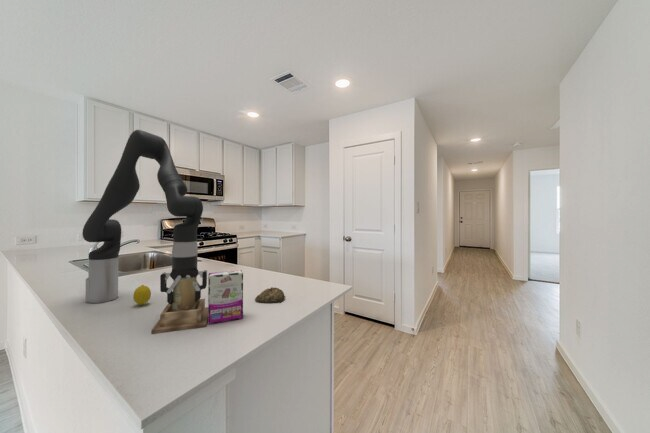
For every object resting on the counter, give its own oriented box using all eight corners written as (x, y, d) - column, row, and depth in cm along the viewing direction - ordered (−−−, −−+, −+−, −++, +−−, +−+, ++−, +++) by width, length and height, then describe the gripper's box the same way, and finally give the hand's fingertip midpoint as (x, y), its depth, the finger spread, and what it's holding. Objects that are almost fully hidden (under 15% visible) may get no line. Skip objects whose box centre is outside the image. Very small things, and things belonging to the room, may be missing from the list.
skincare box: (171, 312, 83) (172, 276, 83) (183, 308, 87) (183, 274, 87) (185, 316, 80) (185, 279, 80) (196, 311, 84) (197, 276, 84)
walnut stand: (151, 333, 74) (151, 317, 74) (164, 314, 88) (164, 300, 88) (206, 326, 79) (206, 311, 79) (210, 309, 93) (210, 296, 93)
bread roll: (282, 304, 100) (282, 292, 100) (252, 303, 101) (252, 291, 101) (287, 294, 113) (287, 283, 113) (261, 293, 114) (261, 283, 114)
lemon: (141, 308, 93) (141, 287, 93) (129, 307, 94) (129, 286, 94) (154, 303, 98) (154, 283, 98) (142, 302, 99) (143, 282, 99)
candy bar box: (241, 313, 90) (241, 269, 90) (243, 319, 86) (244, 272, 85) (207, 319, 85) (208, 272, 85) (207, 325, 80) (208, 275, 80)
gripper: (209, 252, 89) (208, 296, 89) (163, 253, 84) (162, 300, 85) (207, 255, 82) (206, 304, 82) (157, 257, 77) (156, 308, 77)
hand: (184, 302), depth 83 cm, fingers closed on skincare box, 7 cm apart
